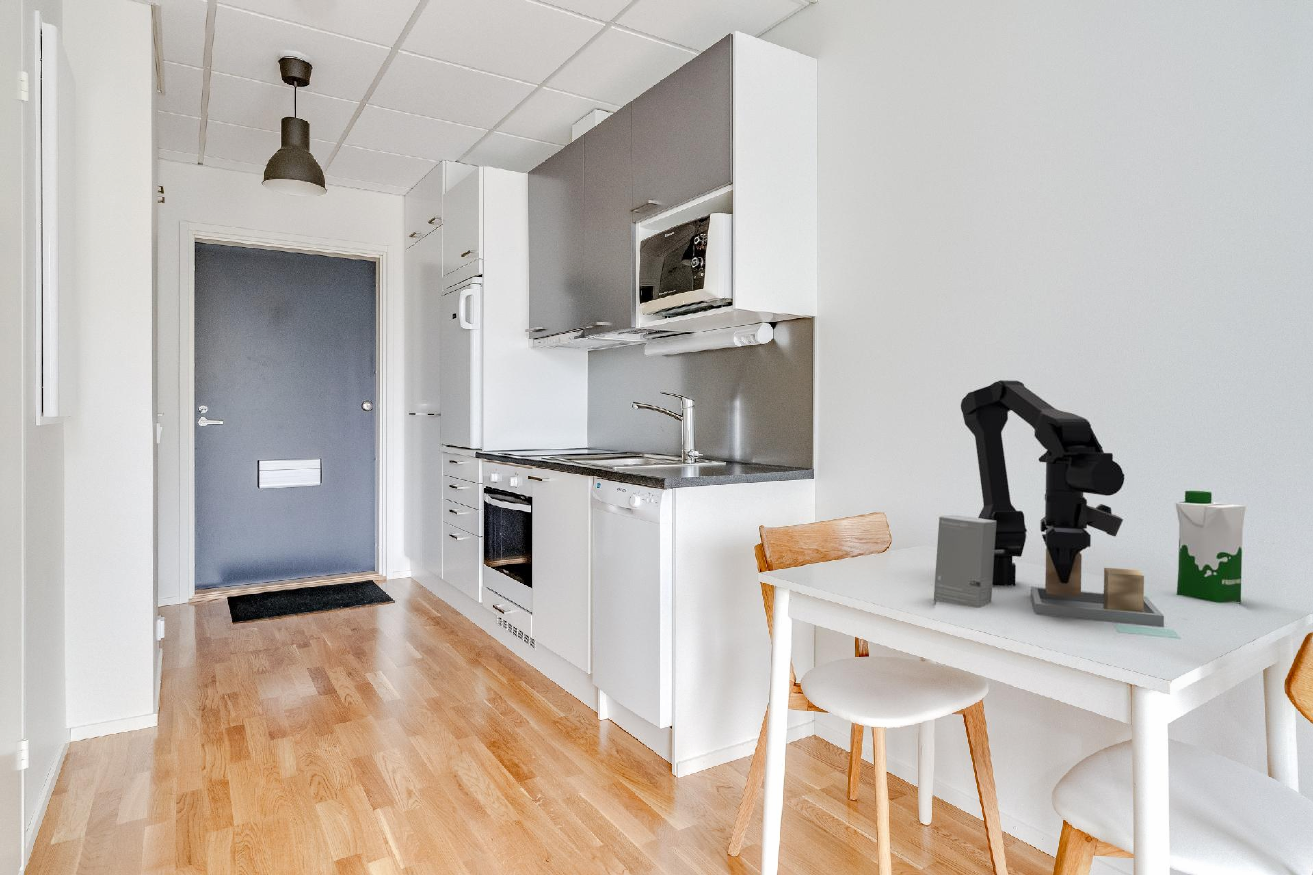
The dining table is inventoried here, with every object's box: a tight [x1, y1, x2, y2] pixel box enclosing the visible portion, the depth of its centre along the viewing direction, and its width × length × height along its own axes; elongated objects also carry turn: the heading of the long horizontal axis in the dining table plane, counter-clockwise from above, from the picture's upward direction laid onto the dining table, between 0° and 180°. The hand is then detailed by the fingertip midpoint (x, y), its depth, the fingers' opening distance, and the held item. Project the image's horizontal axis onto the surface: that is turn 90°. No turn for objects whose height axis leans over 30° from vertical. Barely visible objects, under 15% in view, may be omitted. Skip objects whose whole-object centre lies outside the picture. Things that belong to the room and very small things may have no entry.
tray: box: [1030, 586, 1165, 628], centre depth 126 cm, size 18×14×2 cm
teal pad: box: [1112, 623, 1182, 640], centre depth 113 cm, size 8×5×1 cm, turn 66°
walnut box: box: [1044, 547, 1083, 596], centre depth 127 cm, size 5×5×7 cm
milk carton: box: [1175, 490, 1247, 604], centre depth 136 cm, size 9×9×20 cm
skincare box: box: [933, 514, 997, 609], centre depth 132 cm, size 8×7×16 cm
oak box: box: [1103, 567, 1145, 612], centre depth 124 cm, size 5×5×7 cm
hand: (1062, 580), depth 127 cm, fingers closed on walnut box, 5 cm apart
